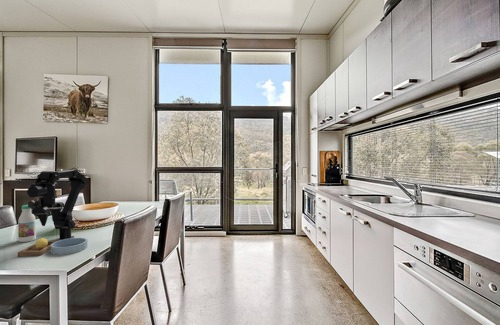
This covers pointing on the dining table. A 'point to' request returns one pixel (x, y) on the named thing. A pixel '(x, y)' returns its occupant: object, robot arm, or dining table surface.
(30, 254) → the tray
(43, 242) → the ball
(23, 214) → the milk bottle
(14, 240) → the dining table surface
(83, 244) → the bowl
